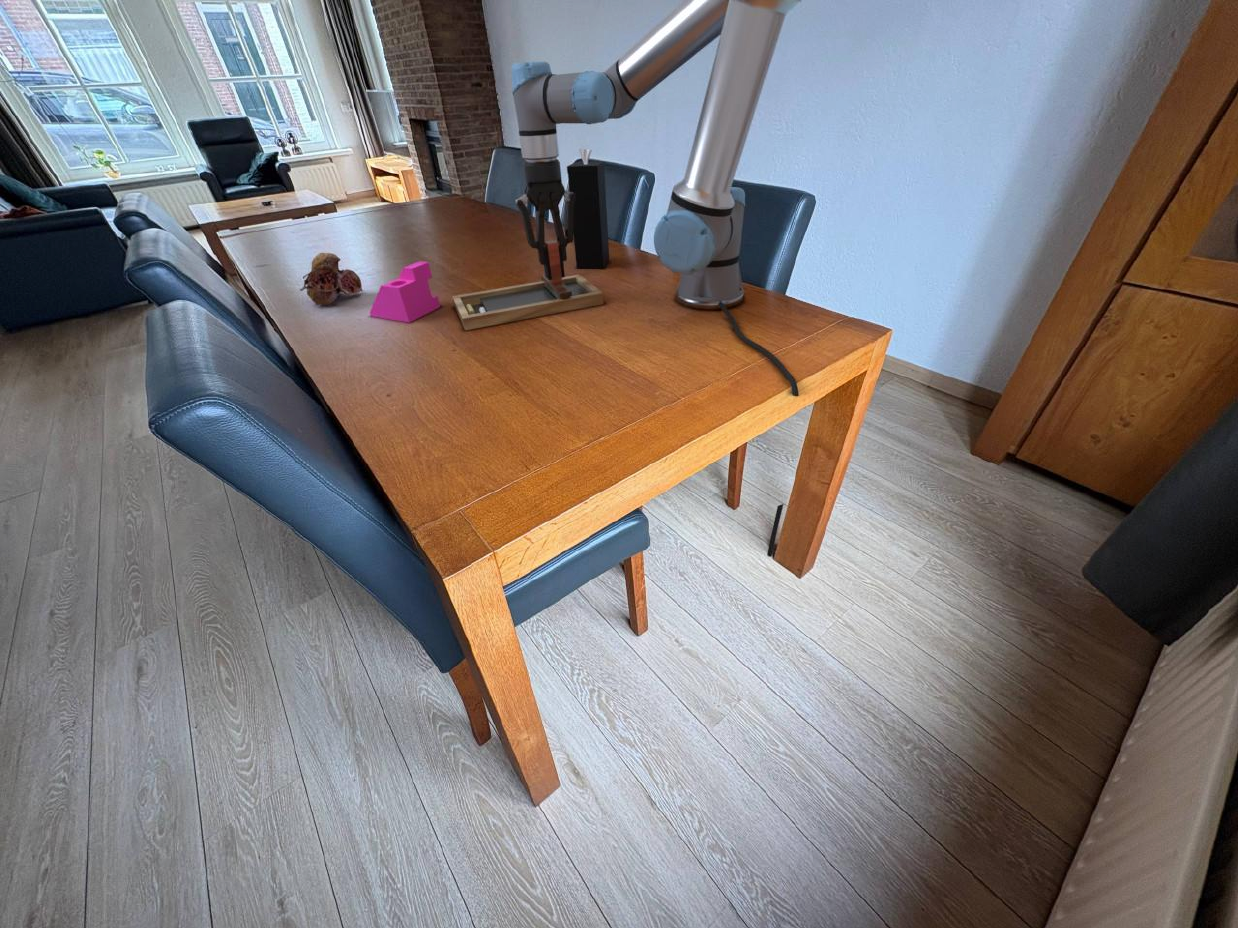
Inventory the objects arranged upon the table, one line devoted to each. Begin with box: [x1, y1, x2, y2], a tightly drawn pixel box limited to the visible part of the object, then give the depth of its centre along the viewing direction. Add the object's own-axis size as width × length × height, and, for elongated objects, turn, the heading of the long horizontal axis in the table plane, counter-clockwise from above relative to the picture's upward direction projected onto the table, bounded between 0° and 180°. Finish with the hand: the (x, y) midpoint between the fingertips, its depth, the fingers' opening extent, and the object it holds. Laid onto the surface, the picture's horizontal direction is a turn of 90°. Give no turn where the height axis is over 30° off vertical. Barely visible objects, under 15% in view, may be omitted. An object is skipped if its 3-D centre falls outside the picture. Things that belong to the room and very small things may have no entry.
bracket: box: [369, 261, 441, 324], centre depth 113 cm, size 12×10×10 cm
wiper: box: [541, 239, 572, 299], centre depth 113 cm, size 15×3×11 cm, turn 23°
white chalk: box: [479, 307, 486, 313], centre depth 111 cm, size 5×1×1 cm
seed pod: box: [299, 252, 364, 306], centre depth 122 cm, size 13×16×15 cm
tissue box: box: [566, 148, 610, 269], centre depth 131 cm, size 8×8×28 cm
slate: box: [451, 274, 604, 331], centre depth 115 cm, size 16×32×3 cm, turn 113°
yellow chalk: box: [466, 304, 475, 315], centre depth 113 cm, size 5×1×1 cm
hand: (555, 277), depth 115 cm, fingers closed on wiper, 2 cm apart
